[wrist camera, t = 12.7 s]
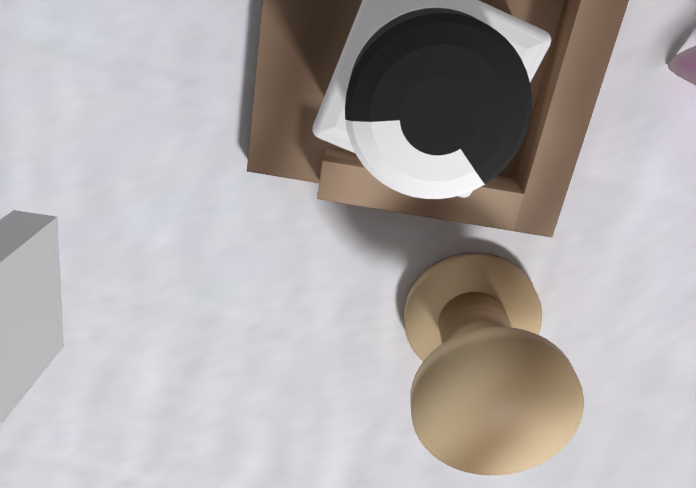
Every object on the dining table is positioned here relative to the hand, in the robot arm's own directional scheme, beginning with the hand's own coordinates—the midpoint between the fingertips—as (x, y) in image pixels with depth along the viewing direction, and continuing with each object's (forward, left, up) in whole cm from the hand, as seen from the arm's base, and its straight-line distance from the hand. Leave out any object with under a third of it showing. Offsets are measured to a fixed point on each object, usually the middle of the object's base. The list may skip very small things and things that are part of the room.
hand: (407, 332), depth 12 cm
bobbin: (+7, -12, -23) cm, 27 cm away
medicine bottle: (+1, +2, -22) cm, 22 cm away
